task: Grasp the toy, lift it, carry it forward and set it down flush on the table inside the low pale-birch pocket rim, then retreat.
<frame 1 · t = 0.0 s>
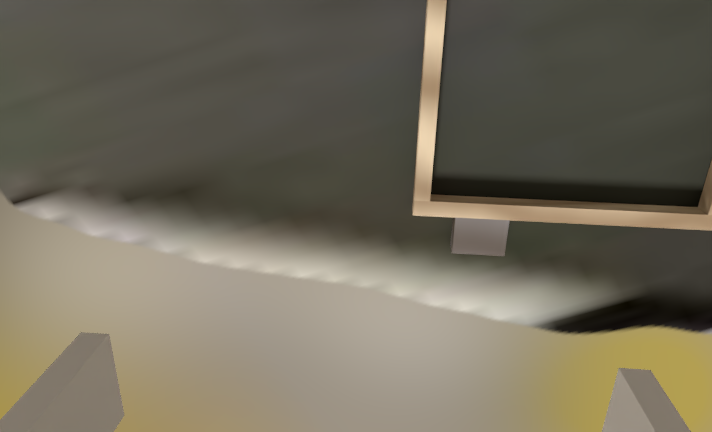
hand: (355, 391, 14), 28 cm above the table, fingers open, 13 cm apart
pocket frame: (583, 79, 37), on the table
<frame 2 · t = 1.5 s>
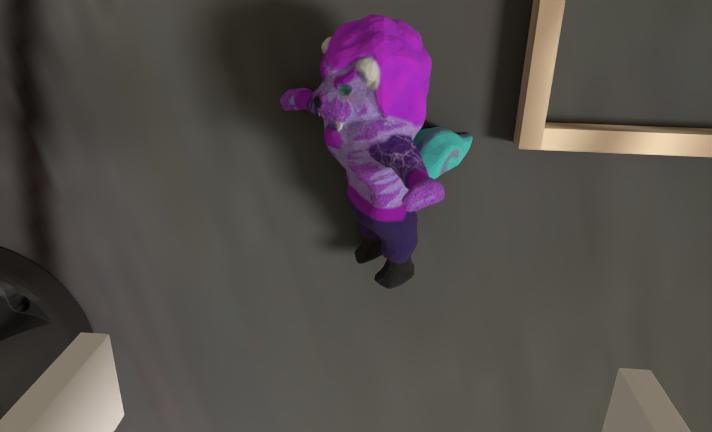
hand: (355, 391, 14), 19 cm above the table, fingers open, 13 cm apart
toy: (383, 145, 32), on the table
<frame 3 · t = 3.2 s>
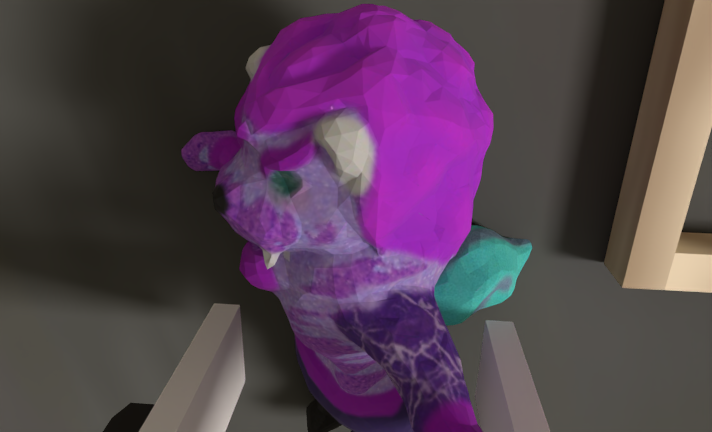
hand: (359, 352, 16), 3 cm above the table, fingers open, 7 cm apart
toy: (371, 238, 18), on the table, touching gripper
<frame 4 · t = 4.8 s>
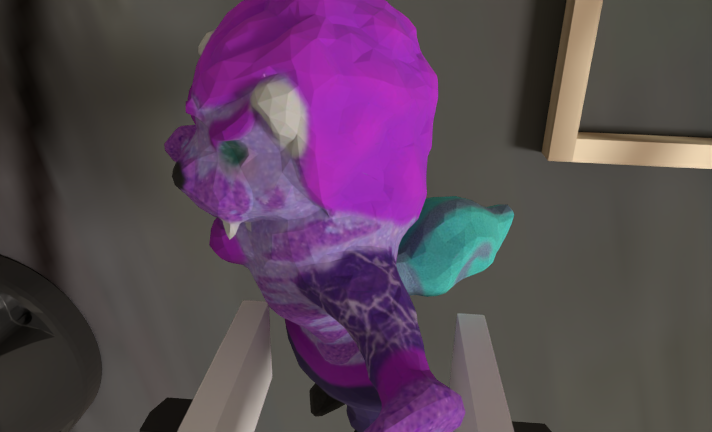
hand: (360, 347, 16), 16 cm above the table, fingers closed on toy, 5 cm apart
toy: (357, 219, 18), point 12 cm above the table, touching gripper
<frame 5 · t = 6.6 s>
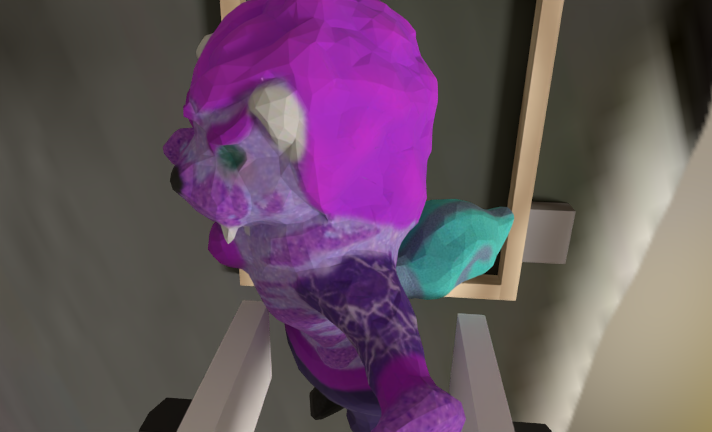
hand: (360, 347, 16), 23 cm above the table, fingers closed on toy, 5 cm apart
pocket frame: (382, 140, 37), on the table
toy: (356, 221, 18), point 19 cm above the table, touching gripper
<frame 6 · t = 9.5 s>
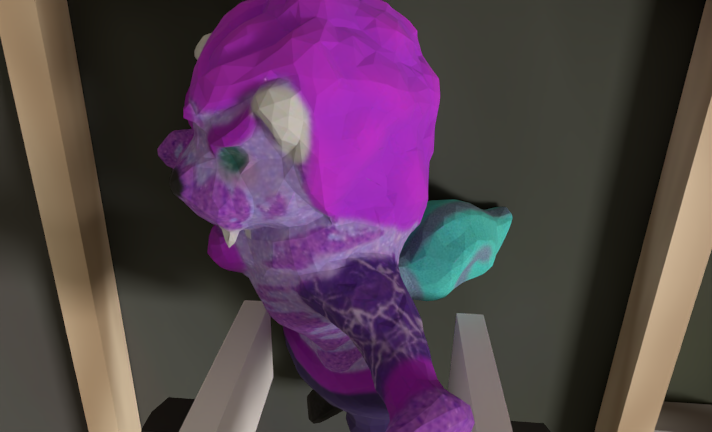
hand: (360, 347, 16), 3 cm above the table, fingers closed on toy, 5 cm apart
pocket frame: (363, 289, 19), on the table
toy: (354, 223, 18), on the table, touching gripper
when the fingers open (3 cm above the table, at t = 9.7 s): toy moves 2 cm, on the table.
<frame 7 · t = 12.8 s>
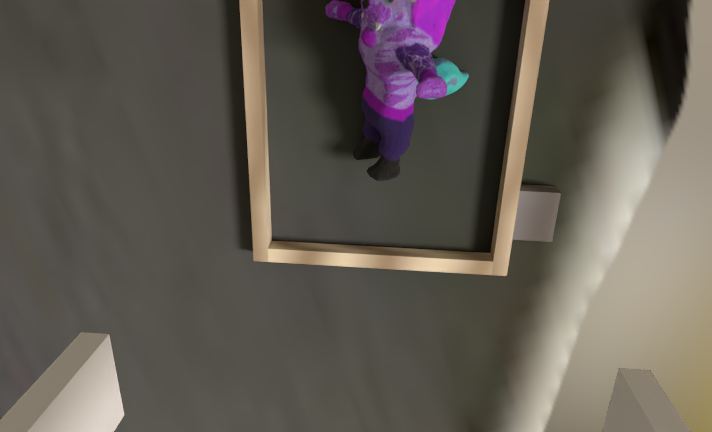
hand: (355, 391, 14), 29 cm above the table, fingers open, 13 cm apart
pocket frame: (385, 127, 40), on the table
toy: (397, 67, 39), on the table
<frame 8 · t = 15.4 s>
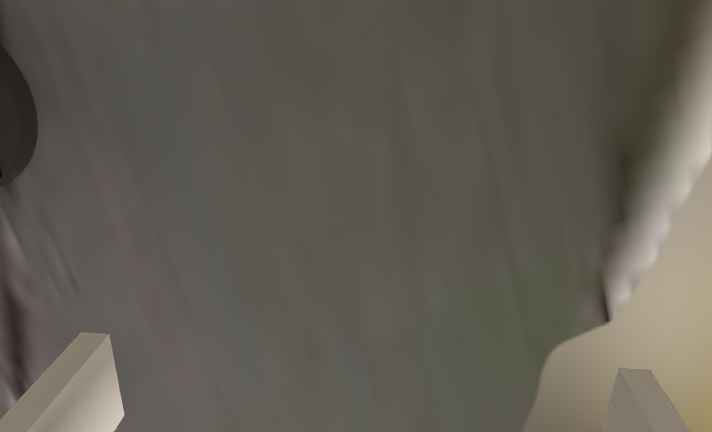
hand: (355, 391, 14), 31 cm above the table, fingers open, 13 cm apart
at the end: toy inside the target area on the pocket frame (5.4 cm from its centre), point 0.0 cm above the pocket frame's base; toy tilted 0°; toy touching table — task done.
